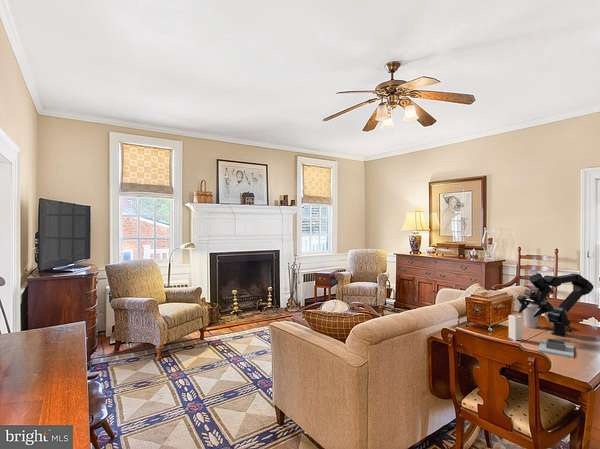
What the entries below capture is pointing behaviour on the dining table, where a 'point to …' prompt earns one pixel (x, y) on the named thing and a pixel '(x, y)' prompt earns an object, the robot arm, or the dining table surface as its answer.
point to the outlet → (556, 347)
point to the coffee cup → (530, 316)
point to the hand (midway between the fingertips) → (526, 314)
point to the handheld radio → (551, 322)
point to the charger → (515, 327)
